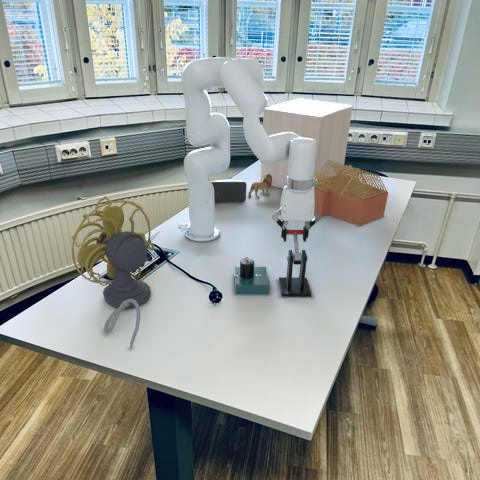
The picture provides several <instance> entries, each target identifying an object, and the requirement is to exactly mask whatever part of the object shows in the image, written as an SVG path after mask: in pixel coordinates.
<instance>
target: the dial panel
mask: <svg viewBox="0 0 480 480" xmlns="http://www.w3.org/2000/svg"><path fill="white" fill-rule="evenodd" d="M233 277H234V279H235V281H234V282H235V294H236V295H269V289H270V283H269V277H268V271H267V266H254V276H253V277H252V278H250V279H244V278H242V277H240V266H235V267H234V274H233Z"/></svg>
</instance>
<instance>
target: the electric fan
mask: <svg viewBox="0 0 480 480" xmlns="http://www.w3.org/2000/svg"><path fill="white" fill-rule="evenodd" d="M104 200H106V201H107V202H104V203H102V204H100V203H101V202H102V201H104ZM113 203H114V204H115V203H122V204H121V205H120V206H118V205H112V204H113ZM127 204H130V205H131V206H134V207H135V209H133V211H132V213H131V215H130V216H129V217H128V220H129V222H130V225H131V226H130V230H129V231H127V230H126V231H122V228H123V225H124V222H125V214H124V209H123V207H124V206H126V205H127ZM102 207H104V208H103V209H102V210H101V208H102ZM99 209H100V210H99ZM138 211H140V212H141V214H143V216H144V219H145V220H146V223H147V228H148V236H147V237H148V238H147V239H146V235H145V233H143V232H135V221H134V215H135V214H136V212H138ZM94 216H95V217H99V218H96V220H93V221H90V217H94ZM82 218H83V219H82V220H81V222H80V224H79V225H78V227H77V229H76V231H75V233H74V234H73V235H72V236H71V240H72V245H71V259H72V260H71V261H72V262H73V266H74V267H75V269H76V271H77V272H78V273H79V275H80V276H82V278H83V279H84V280H87V281H89V282H90V283H96V284H100V286H102V287H104V289H103V291H102V295H103V298H104V301H105V302H106V303H107V304H108V305H109V306H110V307H112V308H115V310H114V311H112V312H111V313H110V315H109V316H108V317H107V319H106V320H105V323H104V325H103V332H104V333H105V334H109V333H111V332H112V331H113V329H114V327H115V326H116V324H117V321H118V318H119V316H120V315H121V312H122V310H131V309H133V310H134V309H135V313H136V316H135V326H134V330H133V332H132V335H131V338H130V342H129V348H130V349H132V347H133V345H134V343H135V340H136V337H137V335H138V332H139V329H140V323H141V308H140V307H141V306H144V305H145V304H146V303H147V302H148V301H150V298H151V293H152V291H151V287H150V286H149V284H148V283H147V282H145V281H143V280H140V279H137V278H139V277H140V276H141V273H142V268H141V267H142V266H144V265H145V264H146V263H147V260H148V250H149V251H153V250H154V249H155V245H154V243H153V242H151V231H152V230H151V229H152V228H151V224H150V220H149V218H148V215H147V214H146V212H145V211H144V209H143V207H142V205H139V204H138V203H136V202H135V201H133V200H130V201H129V200H124V199H123V200H122V199H121V200H111V199H110V198H108V197H107V196H106V195H105V196H103V197H102V198H100V199H99V200H98V201H97V202H96V205H95V207H94V209H93V210H92V211H90V212H89V213H88V214H87V213H83V215H82ZM86 221H87V222H86ZM101 221H102V224H101V223H98V222H101ZM85 222H86V223H85ZM90 226H91V227H97V228H95V229H92V230H90V232H88V233H87V234H86V236H85V237H84V238H83V239H82V242H81V243H80V244H78V243H77V241H76V240H77V237H78V234H79V233H80V232H81V231H82V230H83V229H85V228H87V227H90ZM95 233H96V234H97V233H100V234H99V236H94V237H92V238H90V236H92V235H94V234H95ZM87 239H88V240H87ZM95 241H96V243H93V242H95ZM91 243H92V244H91ZM75 246H76V247H78V248H80V249H79V250H78V251H77V257H75ZM150 246H151V247H150ZM76 259H77V263H78V265H79V266H78V265H77V263H76ZM100 260H102V261H103V262H104V263H106V274H107V276H108V278H109V279H110V280H103V281H102V280H101V274H100V273H98V272H94V271H93V270H94V264H96V263H97V262H99V261H100ZM79 267H80V268H79ZM84 267H85V270H86V273H87V274H88V276H89V277H88V276H86V275H85V274H84V273H83V271H84ZM137 270H138V272H137V274H136V275H135V274H133V272H135V271H137ZM95 275H96V276H98V278H97V277H96V276H95ZM108 283H109V284H108ZM111 321H112V322H111ZM110 323H111V324H110Z"/></svg>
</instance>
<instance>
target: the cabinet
mask: <svg viewBox="0 0 480 480" xmlns="http://www.w3.org/2000/svg"><path fill="white" fill-rule="evenodd" d="M353 109H354V105H352V104H346V103H337V102H330V101H321V100H314V99H306V98H296V99H292V100H288V101H286V102H282V103H279V104H278V103H277V104H273V105H271V106H266V108H265V109H264V111H263V117H262V120H263V121H262V127H263V129H264V130H265V132H266V133H267V134H268V136H271V135H275V134H280V133H284V132H291V133H294V134H296V135H298V136H300V137H302V138H310V139H313V140H314V141H315V142H316V145H317V146H316V156H315V165H314V175H313V177H314V176H315V175H316V174H319V173H320V171H321V170H322V168H323V167H324V165H325V164H326V162H327V161H328V160H329V161H332V162H333V161H334V162H337V164H338V162H339V164H342V165H343V164H344V166H345V162H346V154H347V147H348V139H349V134H350V127H351V121H352V113H353ZM288 161H289V160H284V161H280V162H277V163H273V164H265V163H263V162H261V161H260V181H259V182H262V181H263V179H264V175H266V174H270V175H271V176H272V184H271V186H270V187H274V188H279V189H283V188H284V186H285V185H287V174H288ZM329 161H328V163H327V164H326V166H325V167H324V169H323V170H322V171H321V172H322V173H323V171H324V170H325V168H326V167H327V165H328V164H329ZM331 164H332V163H331ZM331 164H329V166H330V165H331ZM333 164H334V163H333ZM333 164H332V165H333ZM337 164H336V165H337ZM339 164H338V166H339ZM334 166H335V165H334ZM338 166H337V167H338ZM340 166H341V165H340ZM344 166H343V167H344ZM331 167H332V166H331ZM328 168H329V167H327V168H326V170H325V171H327V170H328ZM336 169H337V168H336ZM336 169H335V170H336ZM329 170H331V168H329ZM329 170H328V171H329ZM333 170H334V169H332V170H331V172H330V173H332V171H333ZM325 171H324V172H325ZM336 172H337V171H336ZM330 173H329V174H330ZM327 174H328V173H327ZM327 174H325V175H326V176H327ZM329 174H328V176H327V178H328V177H329ZM333 174H334V171H333V173H332V174H331V177H332V175H333ZM335 175H336V173H335V174H334V176H335ZM322 177H323V176H322ZM324 177H325V176H324ZM315 178H316V177H315ZM320 178H321V177H320ZM323 179H324V178H323Z"/></svg>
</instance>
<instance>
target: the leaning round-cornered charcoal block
mask: <svg viewBox="0 0 480 480" xmlns="http://www.w3.org/2000/svg"><path fill="white" fill-rule="evenodd" d="M211 183H212V185H213V187H214V204H226V203H227V204H232V203H237V204H238V203H245V202H246V201H247V182H245V181H244V180H238V179H217V180H213V181H211Z"/></svg>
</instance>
